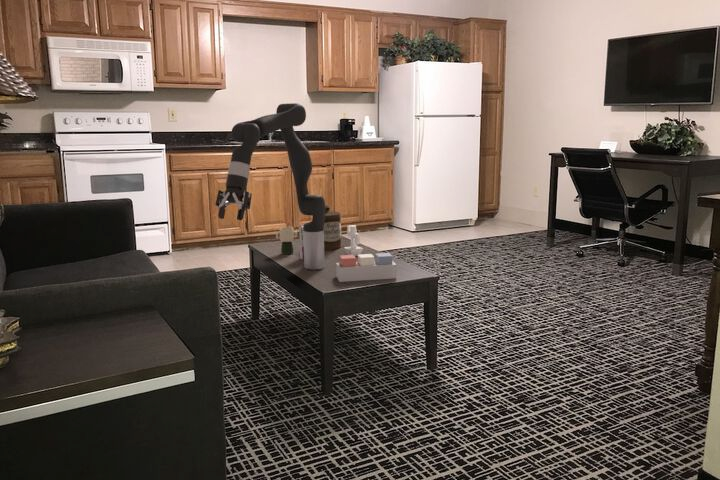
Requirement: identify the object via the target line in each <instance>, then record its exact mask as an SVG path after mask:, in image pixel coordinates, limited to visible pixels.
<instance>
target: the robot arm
mask: <svg viewBox="0 0 720 480" xmlns="http://www.w3.org/2000/svg"><path fill="white" fill-rule="evenodd" d="M275 112H276V113H272V114H266V115H263V116H260V117H257V118H255V119H251V120H247V121H241V122H238V123H236V124H235V125H234V126H233V127H232V129H231V137H232V139H233V140H234V141H235V142H236V143H241V145H239V146H236V147H234V148H233V149H232V153H231V158H230V164H229V166H228V169H227V170H228V171H227V175H226V176H227V177H226V180H225V190H221V189H218V191H217V195H216V200H215V203H214V204H215V206H216V207H218V209H219V211H218V214H217V216H218V219H221V220H224V218H225V215H226V210H227V209H226V208H227V207H228V206H230V205H231V204H236V205H237V207H238V210H237V215H236V220H238V221H242V220H243V219H244V216H245V211H246V210H249V209H251V203H252V196H253V195H252V193H251V192H249V191H246V190H247V187H248V182H249V181H248V180H249V176H250V167H251V160H252V156H253V154H254V152H255V149H256V147H257V145H258V144H259V141H260V138H262V137H265V136H267V135H270V134H272V133H274V132H277V131H280V132H281V136H282V138H283V140H284V144H285V148H286V152H287V156H288V157H287V158H288V161H289V166H290V169H291V173H292V177H293V181H294V186H295V189H296V190H295V192H296V199H297V206H298V209H299V211H300V213H301V214H302V215H305V216H312V219H311V221H309V222H306V223H304V224H303V225H302V226H303V235H304V260H303V263H304V265H303V266H304V267H303V268H305V269H306V270H315V271H316V270H321V269H324V268H325V265H326V264H325V250H324V223H325V206H326V201H325V199H324V197H323V196H322V195H317V194H310V193H309V189H308V181H309V179H310V177H311V174H312V172H313V162H312V159H311V154H310V152H309V150H308V148H307V147H306V145H305V144H304V143H303V142H302V141H301V139H300V138H299V137H298V135H297V134H296V132H295V129H294V127H299V126H302V125H303V124H304V123H305V122H306V118H307V112H306V108H305V106H303V104H300V103H292V102H291V103H281V104H279V105H278V106H277V107H276V111H275Z"/></svg>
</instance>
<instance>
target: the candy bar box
mask: <svg viewBox="0 0 720 480" xmlns="http://www.w3.org/2000/svg"><path fill="white" fill-rule="evenodd" d="M298 233H299V234H298V235H299V239H298V240H299V252H300V253H299V258H300V260H302V261H304V235H303V225H299V226H298Z"/></svg>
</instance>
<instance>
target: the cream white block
mask: <svg viewBox="0 0 720 480" xmlns="http://www.w3.org/2000/svg"><path fill="white" fill-rule="evenodd" d="M374 261H375V256H374V255H373V254H372V253H364V254H362V253H361V254H359V255H358V256H357V262H358V265H359V266H371V265H374Z"/></svg>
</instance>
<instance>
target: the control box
mask: <svg viewBox="0 0 720 480" xmlns="http://www.w3.org/2000/svg"><path fill="white" fill-rule="evenodd" d="M335 273H336V274H335V276H336V279H337V280H338V282H340V283H341V282H343V283H344V282H358V281H373V280H374V281H375V280H378V281H379V280H390V279H397V264H396V262H394V261H393V260H392V264H388V265H377V264H376V263H375V260H374V265H371V266H359V265H358V261H356V266H354V267H341V266H340V262H336V263H335Z"/></svg>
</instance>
